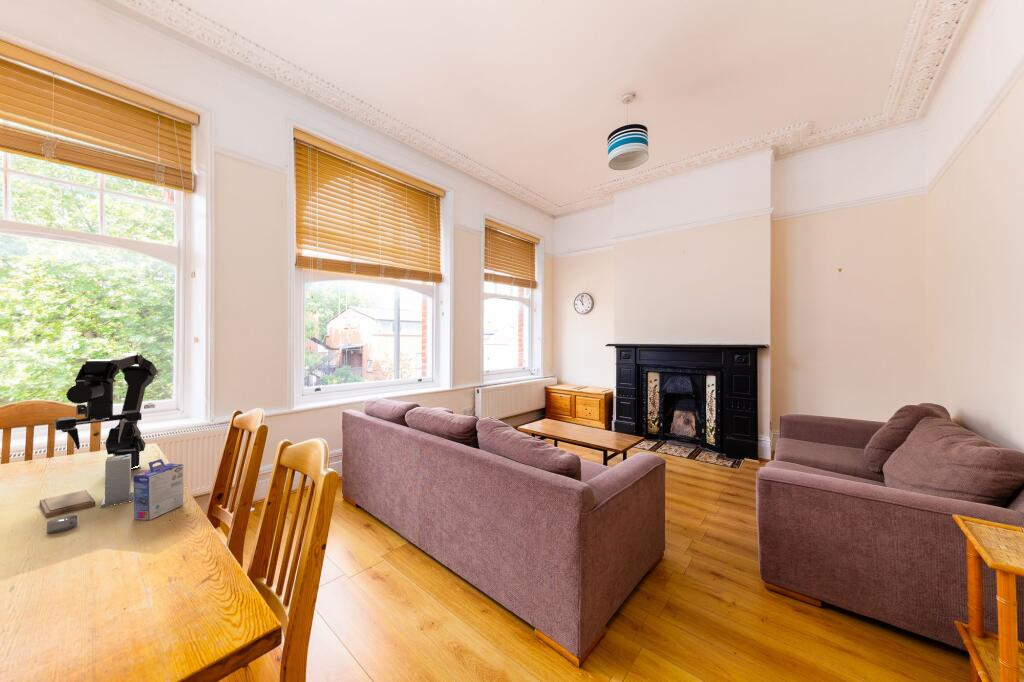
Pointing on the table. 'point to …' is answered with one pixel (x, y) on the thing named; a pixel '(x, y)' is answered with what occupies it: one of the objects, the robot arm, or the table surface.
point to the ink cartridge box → (158, 490)
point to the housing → (117, 480)
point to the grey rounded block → (61, 524)
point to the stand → (66, 503)
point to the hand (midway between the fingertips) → (99, 445)
